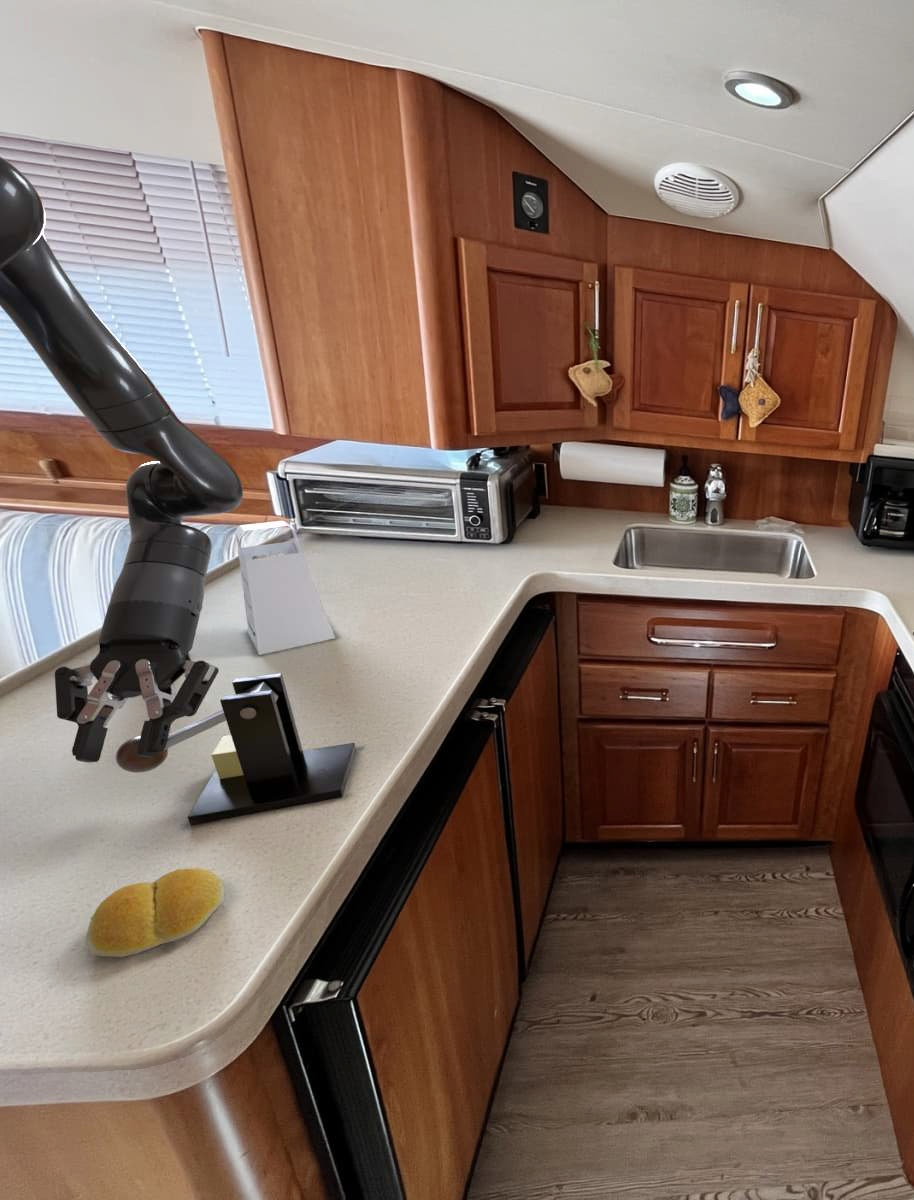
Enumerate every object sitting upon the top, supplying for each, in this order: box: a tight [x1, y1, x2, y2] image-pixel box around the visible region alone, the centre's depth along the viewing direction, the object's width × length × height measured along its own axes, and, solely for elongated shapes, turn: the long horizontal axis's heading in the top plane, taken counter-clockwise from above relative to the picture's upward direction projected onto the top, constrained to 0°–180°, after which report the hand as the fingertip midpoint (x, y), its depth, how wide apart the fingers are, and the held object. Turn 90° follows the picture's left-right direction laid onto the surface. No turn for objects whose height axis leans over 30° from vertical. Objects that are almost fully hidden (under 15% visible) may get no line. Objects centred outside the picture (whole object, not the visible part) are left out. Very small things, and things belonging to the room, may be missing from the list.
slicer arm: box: [115, 682, 278, 774], centre depth 71 cm, size 15×4×4 cm, turn 115°
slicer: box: [187, 673, 357, 826], centre depth 74 cm, size 14×10×14 cm
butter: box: [211, 734, 243, 779], centre depth 77 cm, size 4×4×4 cm
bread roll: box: [85, 867, 225, 958], centre depth 59 cm, size 8×9×4 cm
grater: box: [234, 520, 336, 656], centre depth 107 cm, size 10×10×20 cm
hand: (117, 758), depth 67 cm, fingers open, 4 cm apart
